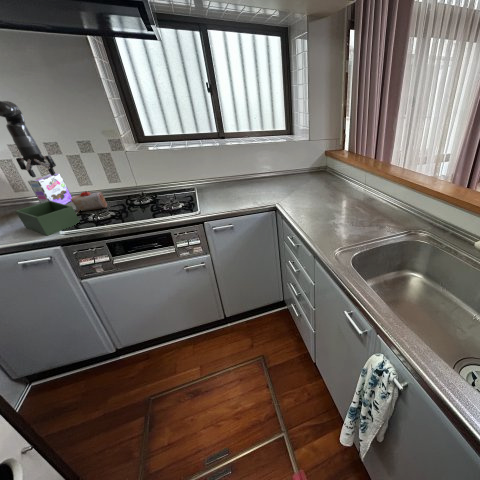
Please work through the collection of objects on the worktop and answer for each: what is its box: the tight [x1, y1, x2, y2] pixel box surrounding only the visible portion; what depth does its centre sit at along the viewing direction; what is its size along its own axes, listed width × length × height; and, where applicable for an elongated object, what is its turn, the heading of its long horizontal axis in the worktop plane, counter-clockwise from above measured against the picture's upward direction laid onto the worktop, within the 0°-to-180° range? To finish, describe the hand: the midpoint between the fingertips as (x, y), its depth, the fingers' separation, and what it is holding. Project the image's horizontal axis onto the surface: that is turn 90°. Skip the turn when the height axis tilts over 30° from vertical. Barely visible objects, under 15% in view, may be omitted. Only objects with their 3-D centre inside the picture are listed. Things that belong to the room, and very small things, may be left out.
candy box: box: [27, 173, 73, 205], centre depth 149 cm, size 14×6×16 cm, turn 179°
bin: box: [14, 201, 81, 237], centre depth 128 cm, size 20×14×9 cm
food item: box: [71, 190, 108, 213], centre depth 145 cm, size 14×8×10 cm, turn 115°
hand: (43, 176), depth 144 cm, fingers open, 8 cm apart
